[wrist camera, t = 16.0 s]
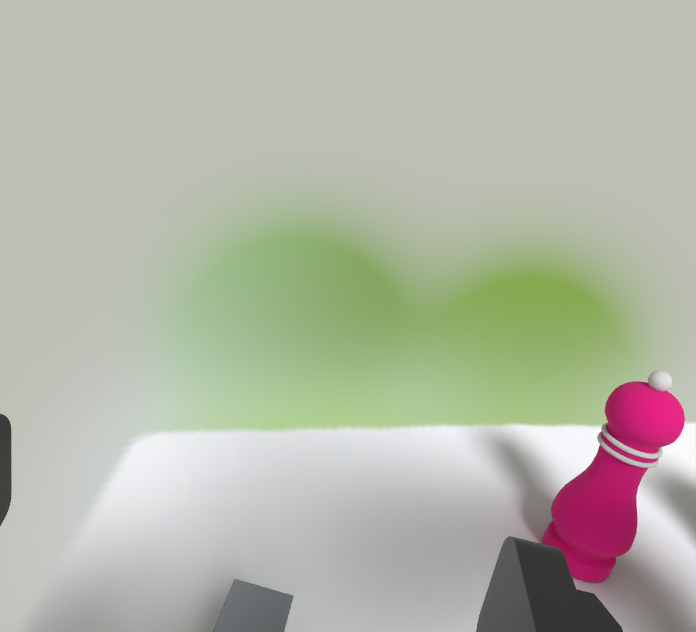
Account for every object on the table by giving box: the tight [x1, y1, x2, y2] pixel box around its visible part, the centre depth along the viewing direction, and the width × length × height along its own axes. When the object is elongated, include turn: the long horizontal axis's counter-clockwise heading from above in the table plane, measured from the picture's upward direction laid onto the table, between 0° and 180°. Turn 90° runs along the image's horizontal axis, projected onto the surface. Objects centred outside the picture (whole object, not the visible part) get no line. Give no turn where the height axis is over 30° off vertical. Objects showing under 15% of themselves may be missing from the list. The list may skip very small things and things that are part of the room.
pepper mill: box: [542, 370, 685, 583], centre depth 49 cm, size 7×7×20 cm
